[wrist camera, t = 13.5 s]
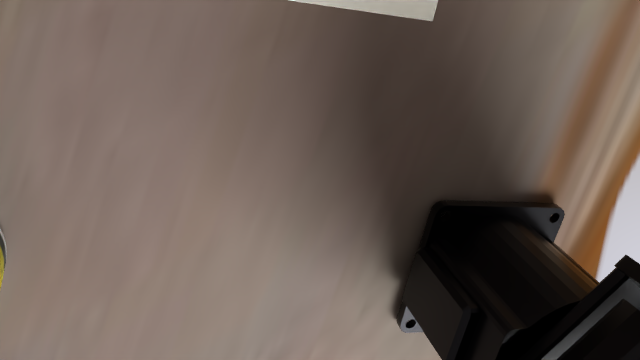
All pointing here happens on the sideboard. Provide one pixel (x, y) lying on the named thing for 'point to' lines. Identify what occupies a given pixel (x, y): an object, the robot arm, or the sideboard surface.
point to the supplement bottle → (2, 255)
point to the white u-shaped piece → (385, 7)
